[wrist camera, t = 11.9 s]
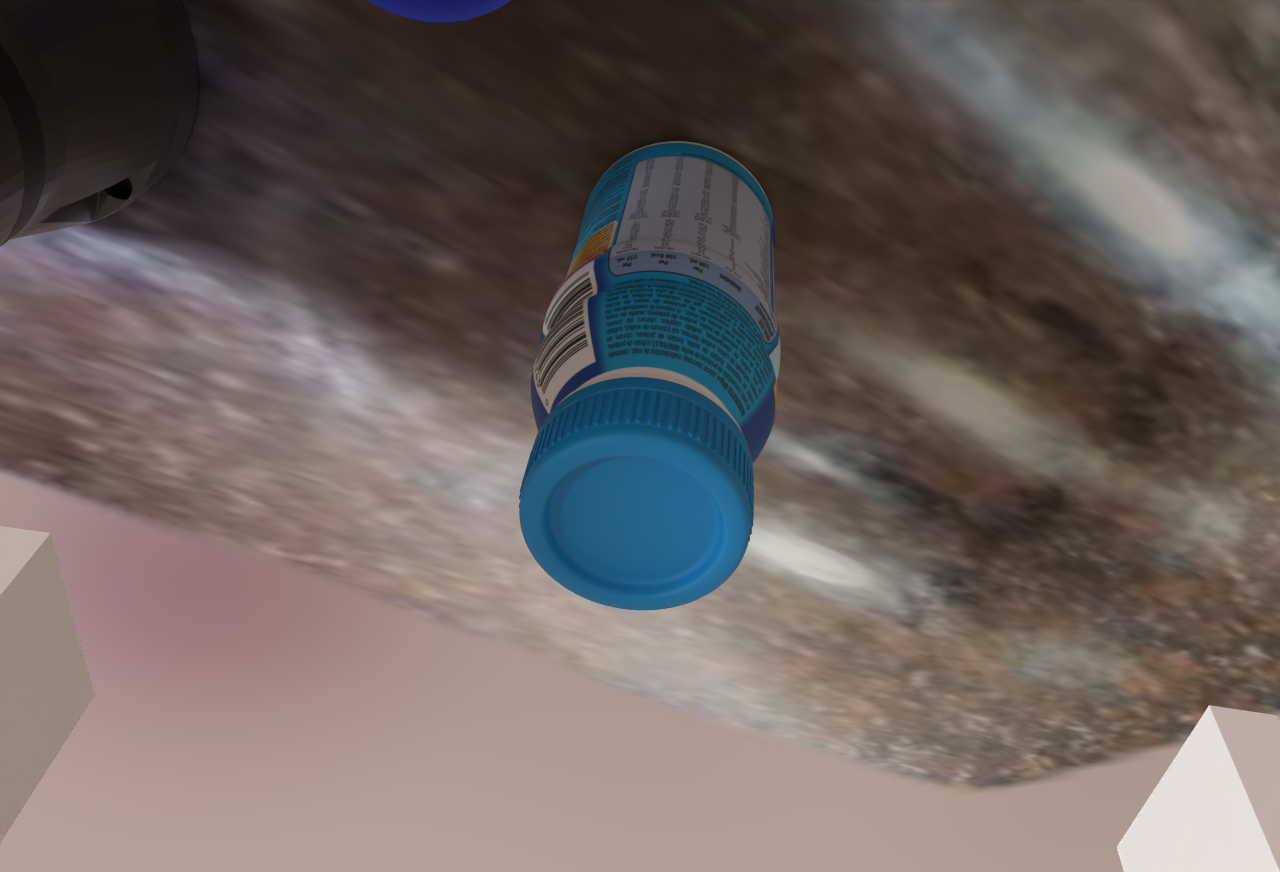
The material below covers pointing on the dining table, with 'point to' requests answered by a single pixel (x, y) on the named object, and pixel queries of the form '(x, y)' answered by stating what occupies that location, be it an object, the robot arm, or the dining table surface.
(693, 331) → the beverage bottle
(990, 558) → the dining table surface
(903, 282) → the dining table surface
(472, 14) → the mug
